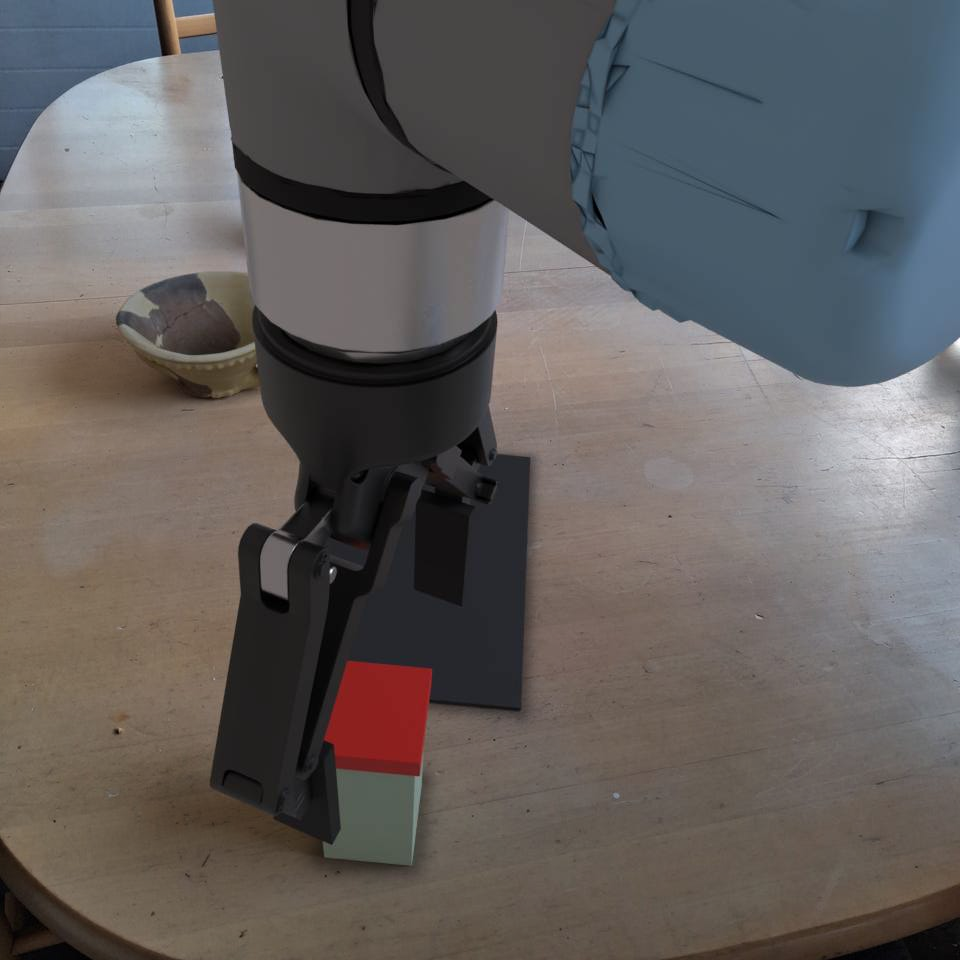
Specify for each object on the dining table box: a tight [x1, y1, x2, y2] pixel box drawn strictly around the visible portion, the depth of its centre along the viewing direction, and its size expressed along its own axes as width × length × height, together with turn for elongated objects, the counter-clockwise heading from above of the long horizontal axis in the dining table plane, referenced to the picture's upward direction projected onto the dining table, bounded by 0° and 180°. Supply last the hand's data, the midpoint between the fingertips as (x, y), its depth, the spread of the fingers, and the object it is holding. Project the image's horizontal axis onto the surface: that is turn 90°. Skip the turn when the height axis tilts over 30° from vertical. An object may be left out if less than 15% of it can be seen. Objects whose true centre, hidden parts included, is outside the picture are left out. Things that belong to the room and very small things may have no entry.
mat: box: [324, 453, 531, 712], centre depth 82 cm, size 30×20×1 cm, turn 176°
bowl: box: [115, 270, 260, 399], centre depth 96 cm, size 18×18×10 cm
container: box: [322, 661, 432, 867], centre depth 59 cm, size 7×7×14 cm
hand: (381, 696), depth 42 cm, fingers open, 13 cm apart
